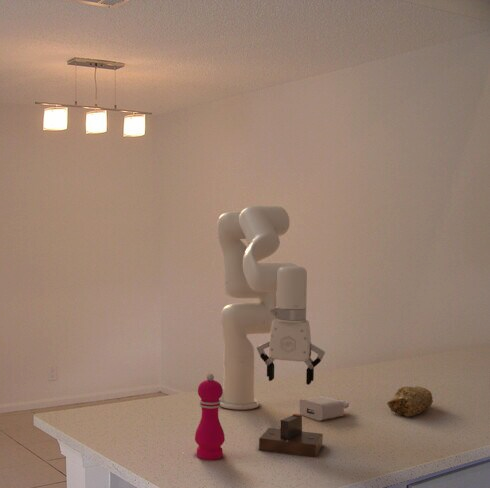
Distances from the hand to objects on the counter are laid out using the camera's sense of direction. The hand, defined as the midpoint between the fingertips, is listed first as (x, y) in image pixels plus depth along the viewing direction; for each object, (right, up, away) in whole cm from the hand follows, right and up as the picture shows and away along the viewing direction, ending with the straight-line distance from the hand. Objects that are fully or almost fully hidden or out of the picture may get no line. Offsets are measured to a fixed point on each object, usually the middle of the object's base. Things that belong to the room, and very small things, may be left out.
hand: (289, 381), depth 185 cm
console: (0, -16, -2) cm, 16 cm away
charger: (+17, -16, +30) cm, 38 cm away
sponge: (+43, -16, +36) cm, 58 cm away
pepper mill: (-21, -17, -9) cm, 28 cm away
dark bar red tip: (0, -13, -2) cm, 13 cm away
